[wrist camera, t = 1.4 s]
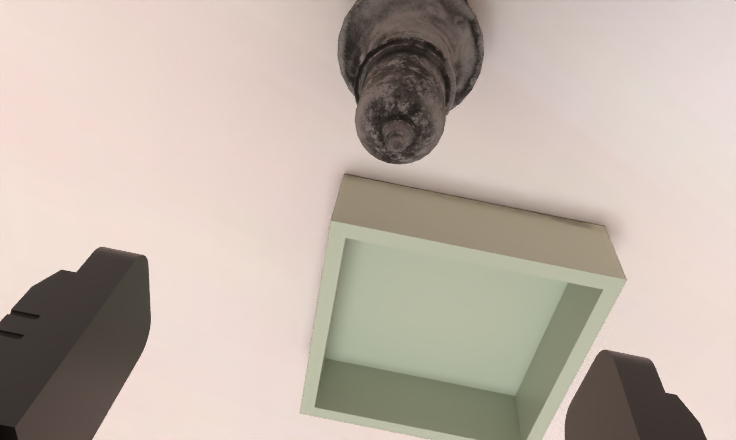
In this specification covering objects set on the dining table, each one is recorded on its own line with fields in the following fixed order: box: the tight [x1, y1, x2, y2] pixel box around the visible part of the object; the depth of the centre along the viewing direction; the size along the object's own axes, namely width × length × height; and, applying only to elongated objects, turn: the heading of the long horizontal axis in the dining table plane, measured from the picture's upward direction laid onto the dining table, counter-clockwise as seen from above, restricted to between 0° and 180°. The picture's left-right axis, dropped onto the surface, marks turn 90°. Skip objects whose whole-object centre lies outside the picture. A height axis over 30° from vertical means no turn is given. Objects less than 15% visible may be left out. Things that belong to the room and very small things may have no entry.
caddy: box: [300, 174, 627, 440], centre depth 33 cm, size 14×14×4 cm
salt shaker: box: [338, 0, 484, 164], centre depth 22 cm, size 6×6×12 cm
